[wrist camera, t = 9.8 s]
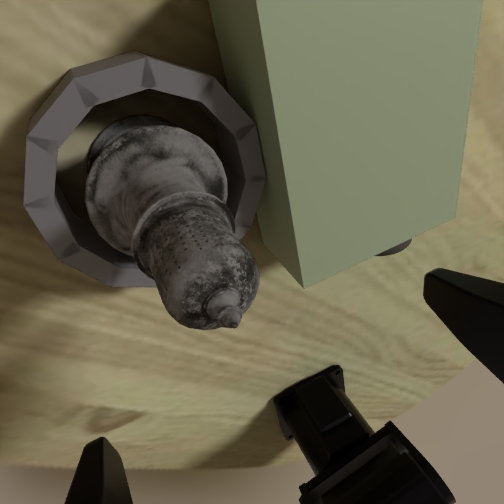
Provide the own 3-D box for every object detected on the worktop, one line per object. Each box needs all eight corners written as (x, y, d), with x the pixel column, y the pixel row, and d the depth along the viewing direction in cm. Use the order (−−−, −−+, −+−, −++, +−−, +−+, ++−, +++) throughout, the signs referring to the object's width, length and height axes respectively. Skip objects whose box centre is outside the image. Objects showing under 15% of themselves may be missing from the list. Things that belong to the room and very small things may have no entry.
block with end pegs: (395, 207, 27) (452, 240, 23) (118, 330, 23) (131, 396, 19) (401, -128, 17) (504, -169, 13) (-92, -20, 13) (-157, -34, 9)
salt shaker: (50, 147, 17) (47, 318, 7) (169, 83, 17) (303, 168, 8) (125, 245, 20) (186, 443, 11) (221, 189, 21) (355, 331, 12)
